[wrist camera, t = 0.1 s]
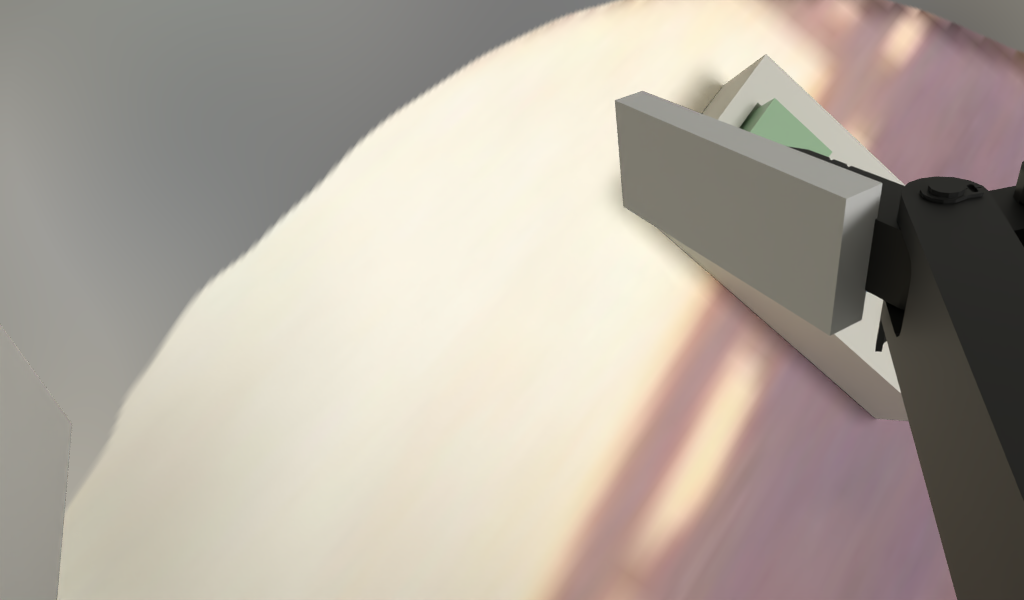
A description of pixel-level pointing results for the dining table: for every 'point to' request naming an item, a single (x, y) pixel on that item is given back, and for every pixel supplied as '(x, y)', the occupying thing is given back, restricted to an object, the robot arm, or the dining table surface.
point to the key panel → (836, 355)
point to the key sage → (782, 128)
